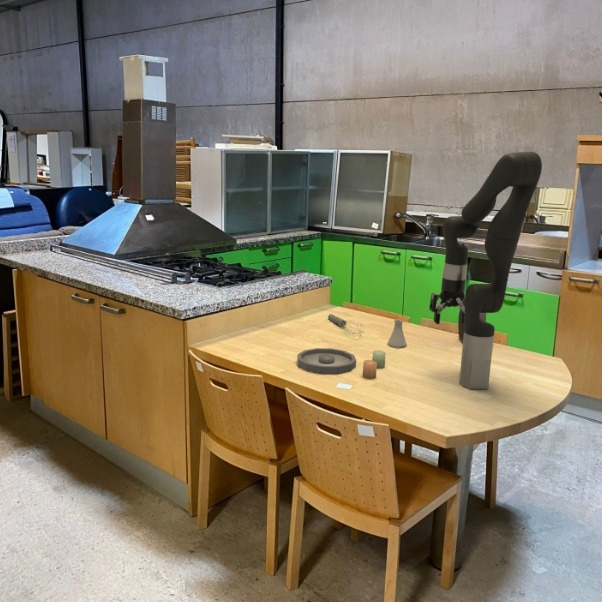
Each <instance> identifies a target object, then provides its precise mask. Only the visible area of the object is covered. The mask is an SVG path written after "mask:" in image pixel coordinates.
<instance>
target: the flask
mask: <svg viewBox="0 0 602 602" xmlns="http://www.w3.org/2000/svg"><path fill="white" fill-rule="evenodd" d="M393 322H394V326H393V331H392V332H391V335H390V337H389V340H388V341H387V345H388V346H389V347H392V348H396V349H400V348H401V349H402V348H405V347H407V346H408V344H407V341H406V338H405V335H404V329H403V323H404V320H401V319H394V320H393Z"/></svg>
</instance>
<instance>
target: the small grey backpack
mask: <svg viewBox="0 0 602 602" xmlns="http://www.w3.org/2000/svg"><path fill="white" fill-rule="evenodd" d="M461 302H462V303H463V305H464V307H465V298H464V299H463V300H462V301H461ZM460 312H461V310H460V309H459V312H458V315H459V314H460ZM457 319H458V320H457V322H458V323H457V327H458V328H457V330H458V331H457V332H458V339H459V340H460V341H461V342H462V343H463V338H464V322H463V324H460V323H459V316H458V318H457ZM480 320H482V321H485V322H487V313H480Z"/></svg>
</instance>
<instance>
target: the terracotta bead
mask: <svg viewBox="0 0 602 602" xmlns="http://www.w3.org/2000/svg"><path fill="white" fill-rule="evenodd" d="M362 366H363V367H362V377H363V378H364V379H366V380H367V379H368V380H372V379H373V380H374V379H376V378H377V369H378V368H377V362H376V361H373V360H372V359H366V360H363V365H362Z"/></svg>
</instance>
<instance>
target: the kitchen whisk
mask: <svg viewBox="0 0 602 602" xmlns="http://www.w3.org/2000/svg"><path fill="white" fill-rule="evenodd" d="M327 318H328V321H331V322H333V323H335V324H337V325H339V326H341V327H342V328H343V329H344V331H345V332H346V333H348V330H347V329H346V326H347V327H349V328H351V329H352V330H354V331H357V333H354V335H356V334H358V333H359V334H365V332H363V331H364V330H365V328H363V330H362V329H359V327H358V325H359V326H360V327H363V325H362V324H361V323H359V324H358V323H355V322H352V320H349V323H351V324H354V325H355V326H357V328H358V329H357V328H354V327H352V326H351V325H348V320H344V319H343V318H342V317H341V318H340V317H339V316H336V315H334V314H332V313H329V314H328V316H327ZM349 335H352V332H351V333H350V332H349ZM361 336H362V335H360V336H359V338H361Z"/></svg>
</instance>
